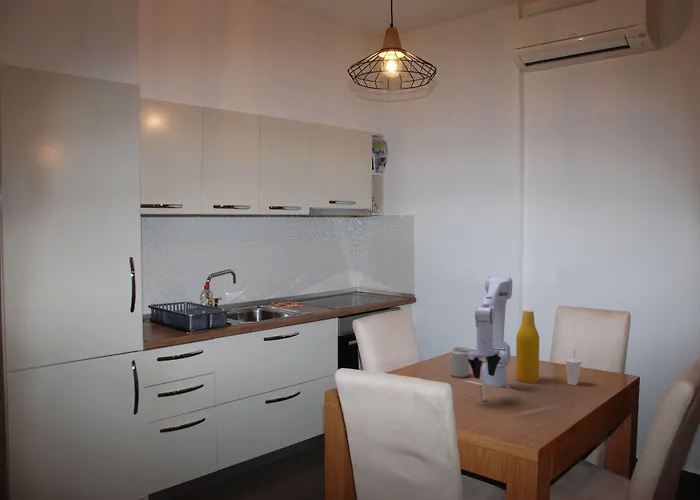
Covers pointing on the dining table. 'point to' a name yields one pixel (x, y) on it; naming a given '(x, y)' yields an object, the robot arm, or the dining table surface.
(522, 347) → the beer bottle
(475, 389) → the tile
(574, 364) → the smoothie
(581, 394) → the dining table surface
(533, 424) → the dining table surface
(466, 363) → the can
